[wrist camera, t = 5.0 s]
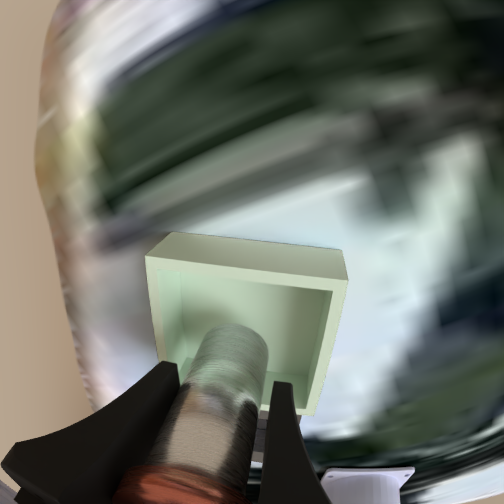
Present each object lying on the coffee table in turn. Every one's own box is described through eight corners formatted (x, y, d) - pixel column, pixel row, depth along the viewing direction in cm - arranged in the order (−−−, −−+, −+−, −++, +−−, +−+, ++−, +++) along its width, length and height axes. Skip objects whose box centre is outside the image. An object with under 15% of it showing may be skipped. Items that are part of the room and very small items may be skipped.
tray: (315, 377, 17) (313, 416, 15) (181, 357, 18) (164, 390, 16) (342, 250, 14) (348, 280, 12) (171, 231, 15) (144, 255, 13)
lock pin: (273, 388, 15) (247, 555, 7) (195, 376, 15) (129, 528, 7) (282, 321, 14) (255, 517, 5) (191, 310, 14) (93, 475, 6)
